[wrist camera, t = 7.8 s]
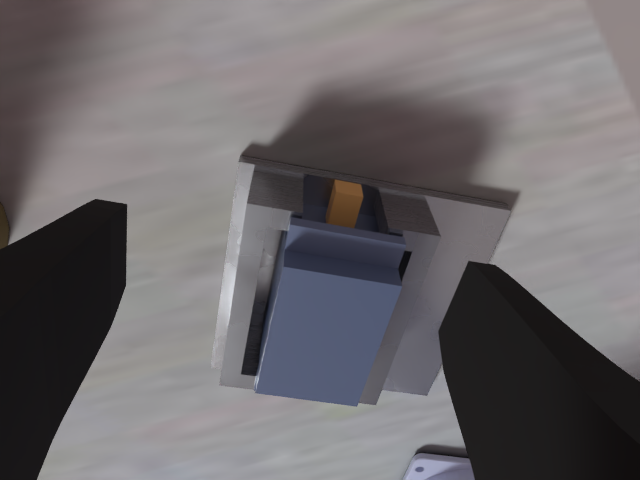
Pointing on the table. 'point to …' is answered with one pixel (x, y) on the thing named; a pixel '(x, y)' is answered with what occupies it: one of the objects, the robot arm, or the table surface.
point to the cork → (3, 228)
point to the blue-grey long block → (328, 302)
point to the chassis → (392, 218)
